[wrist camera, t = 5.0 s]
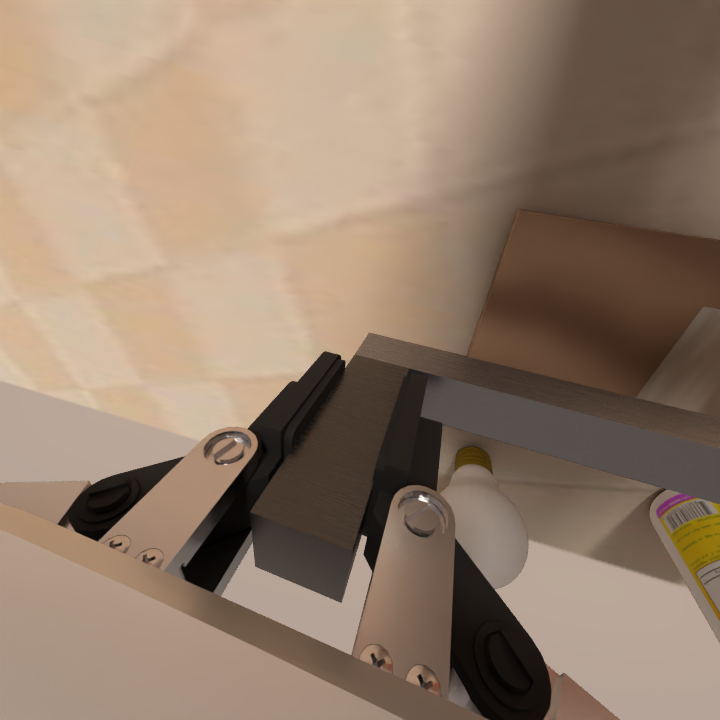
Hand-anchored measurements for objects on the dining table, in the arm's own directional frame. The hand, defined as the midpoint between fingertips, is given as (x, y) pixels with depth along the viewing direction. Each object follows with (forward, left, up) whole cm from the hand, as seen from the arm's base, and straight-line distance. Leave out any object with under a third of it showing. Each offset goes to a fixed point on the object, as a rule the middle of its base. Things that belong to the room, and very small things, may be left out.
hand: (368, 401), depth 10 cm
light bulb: (+12, +7, -12) cm, 19 cm away
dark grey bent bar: (0, +7, -3) cm, 8 cm away
